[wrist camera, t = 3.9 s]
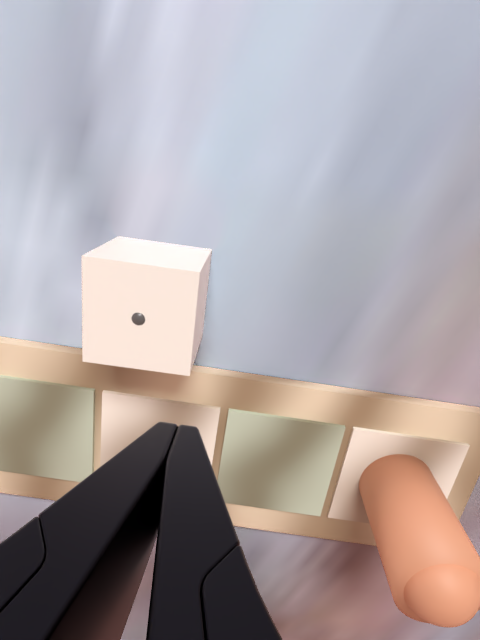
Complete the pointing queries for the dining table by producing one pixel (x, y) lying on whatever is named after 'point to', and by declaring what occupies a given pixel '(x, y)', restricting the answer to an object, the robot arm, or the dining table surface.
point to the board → (227, 435)
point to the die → (144, 304)
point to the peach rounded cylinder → (420, 542)
